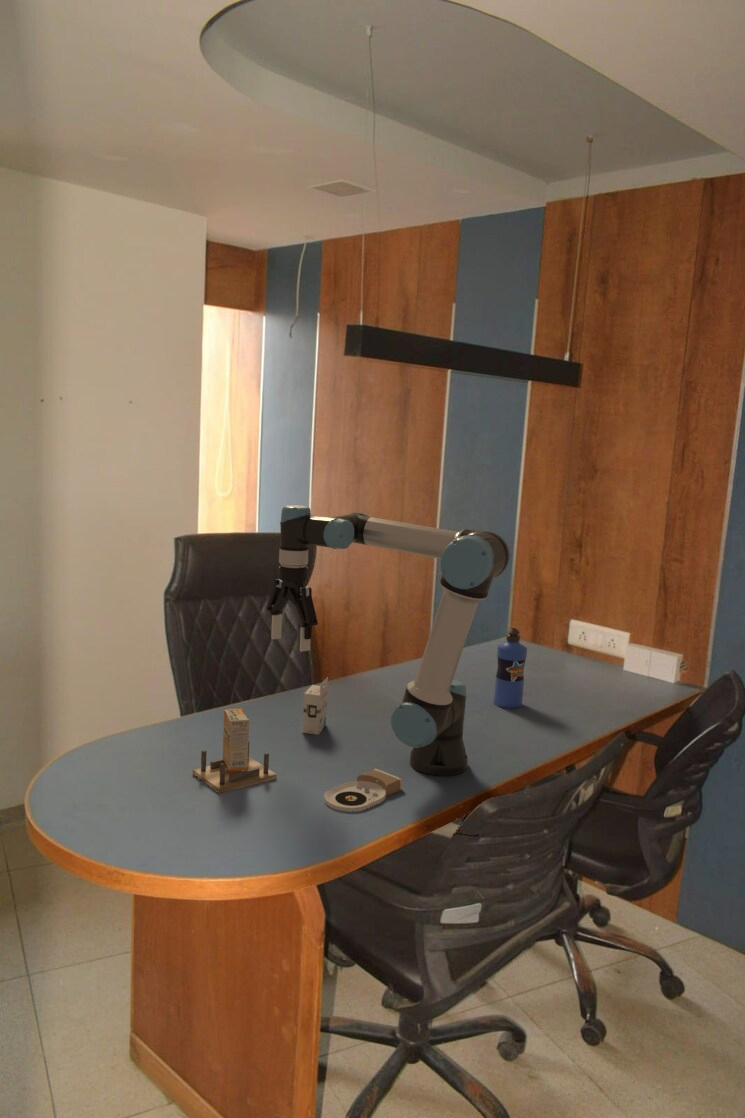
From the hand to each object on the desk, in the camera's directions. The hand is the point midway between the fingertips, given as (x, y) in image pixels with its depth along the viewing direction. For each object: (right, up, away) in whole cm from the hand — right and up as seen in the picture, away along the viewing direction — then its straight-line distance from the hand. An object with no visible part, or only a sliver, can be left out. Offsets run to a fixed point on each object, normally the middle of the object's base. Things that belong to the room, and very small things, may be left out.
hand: (290, 644), depth 234 cm
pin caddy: (-12, -31, -15) cm, 37 cm away
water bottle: (+65, -24, +52) cm, 87 cm away
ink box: (+5, -26, +20) cm, 34 cm away
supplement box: (-12, -28, -16) cm, 35 cm away
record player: (+19, -35, -22) cm, 45 cm away
